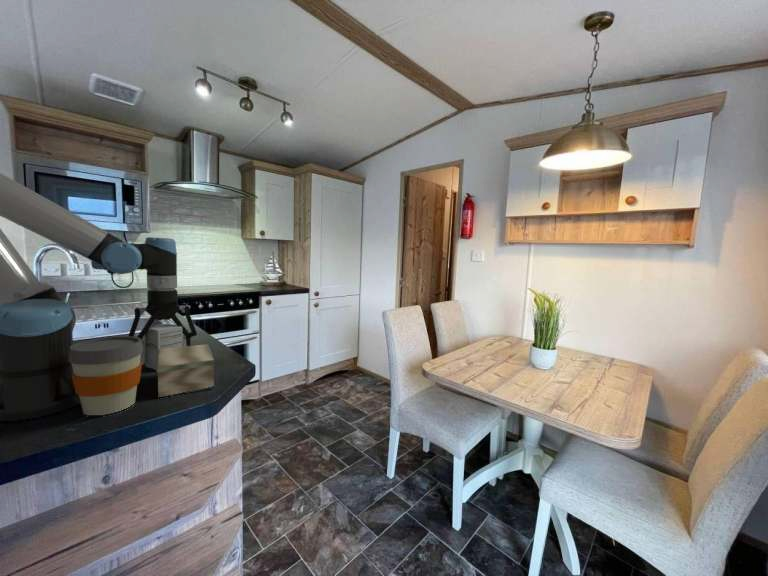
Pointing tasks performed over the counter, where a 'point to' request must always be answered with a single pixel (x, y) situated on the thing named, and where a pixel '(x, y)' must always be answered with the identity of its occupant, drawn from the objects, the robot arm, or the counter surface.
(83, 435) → the counter surface
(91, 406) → the reusable coffee cup
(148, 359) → the supplement box
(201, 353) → the maple box
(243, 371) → the counter surface
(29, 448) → the counter surface
